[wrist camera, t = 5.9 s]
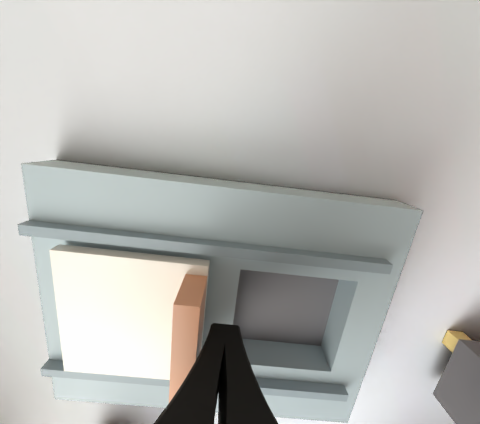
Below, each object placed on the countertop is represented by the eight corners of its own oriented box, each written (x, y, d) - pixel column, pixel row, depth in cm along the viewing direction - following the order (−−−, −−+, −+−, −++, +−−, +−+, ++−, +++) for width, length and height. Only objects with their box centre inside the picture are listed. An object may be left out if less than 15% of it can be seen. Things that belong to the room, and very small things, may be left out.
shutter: (199, 371, 13) (189, 428, 11) (71, 360, 13) (30, 415, 10) (209, 260, 11) (201, 295, 9) (59, 244, 11) (3, 276, 8)
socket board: (335, 390, 17) (352, 434, 14) (76, 368, 16) (47, 410, 14) (395, 200, 13) (433, 214, 10) (55, 159, 12) (8, 164, 10)
